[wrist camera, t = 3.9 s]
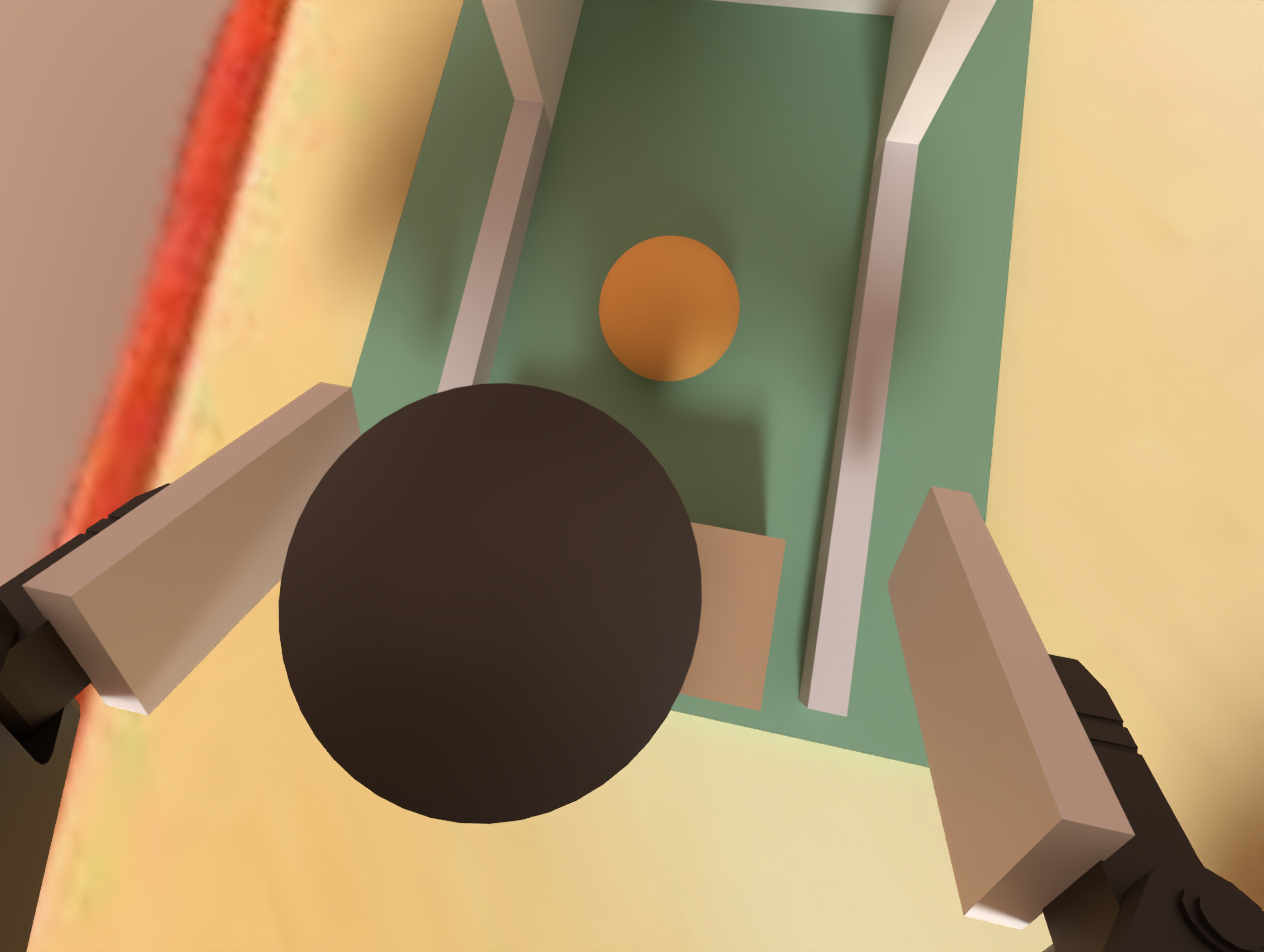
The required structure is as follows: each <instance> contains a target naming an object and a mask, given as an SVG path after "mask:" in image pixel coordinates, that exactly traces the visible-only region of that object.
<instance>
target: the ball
mask: <svg viewBox="0 0 1264 952" xmlns="http://www.w3.org/2000/svg"><path fill="white" fill-rule="evenodd" d="M739 313H740V300H739V294H738V289H737V285H736V282H735V279H734V277H733V275H732V273H731V271H730V270H729V268H728V266H727V265H726V264H725V262H724V261H723V260H722V259H721V257H720V256H719V255H718V254H716V253H715V252H714V251H713V250H712V249H710V248H709V247H707V246H706V245H704V244H703V243H700V242H698V241H696V240H693V239H690V238H687V237H682V236H660V237H654V238H651V239H647V240H645V241H643V242H640V243H638V244H637V245H635V246H633V247H632V248H630V249H629V250H628V251H626V252H625V253H624V254H623V255H622V256H621V257H620V258H619V259H618V260H617V261H616V263H615V264H614V265H613V266H612V268H611V270H610V271H609V273H608V275H607V277H606V279H605V282H604V284H603V287H602V290H601V295H600V302H599V317H600V324H601V329H602V332H603V335H604V338H605V340H606V342H607V344H608V346H609V348H610V349H611V351H612V353H613V354H614V355H615V356H616V357H617V359H618V360H619V361H620V362H621V363H622V364H624V365H625V366H626V367H627V368H628V369H630V370H631V371H633V372H635V373H636V374H638V375H640V376H643V377H646V378H649V379H653V380H657V381H679V380H684V379H688V378H691V377H693V376H696V375H698V374H700V373H702V372H704V371H705V370H707V369H708V368H710V367H711V366H712V365H714V364H715V363H716V362H717V361H718V360H719V359H720V358H721V357H722V355H723V354H724V353H725V351H726V350H727V349H728V347H729V345H730V344H731V342H732V340H733V337H734V335H735V332H736V330H737V326H738V322H739Z"/></svg>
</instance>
